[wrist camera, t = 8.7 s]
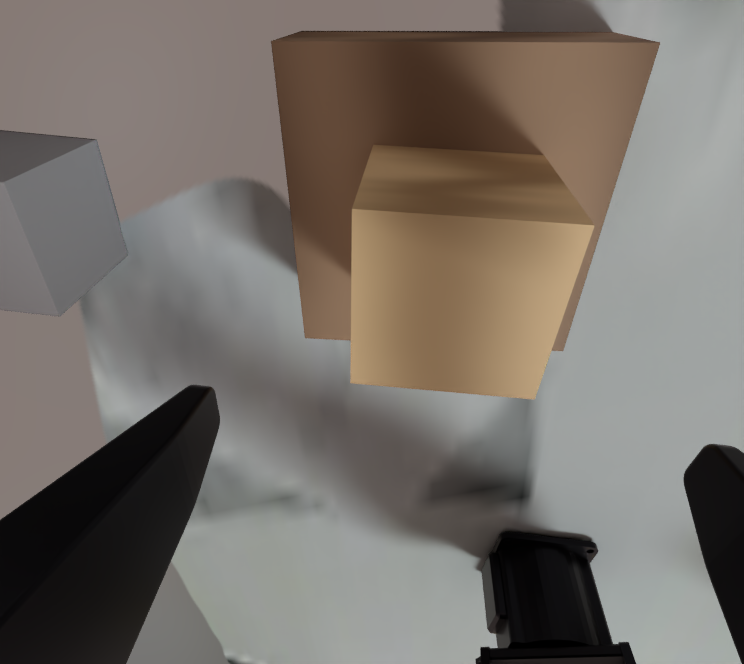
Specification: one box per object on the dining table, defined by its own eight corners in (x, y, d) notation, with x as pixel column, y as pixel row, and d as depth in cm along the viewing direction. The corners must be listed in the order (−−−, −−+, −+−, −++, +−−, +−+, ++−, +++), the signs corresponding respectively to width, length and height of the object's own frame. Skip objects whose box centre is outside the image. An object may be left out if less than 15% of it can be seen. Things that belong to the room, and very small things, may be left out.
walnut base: (608, 31, 15) (660, 42, 12) (541, 295, 21) (562, 351, 18) (302, 30, 15) (271, 41, 12) (322, 286, 21) (305, 338, 18)
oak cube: (543, 155, 13) (594, 225, 9) (507, 299, 16) (534, 399, 12) (373, 144, 14) (351, 209, 10) (368, 288, 17) (350, 383, 13)
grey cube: (96, 139, 18) (3, 182, 14) (128, 254, 21) (59, 316, 17) (-28, 127, 18) (-155, 166, 14) (22, 243, 21) (-71, 302, 17)
